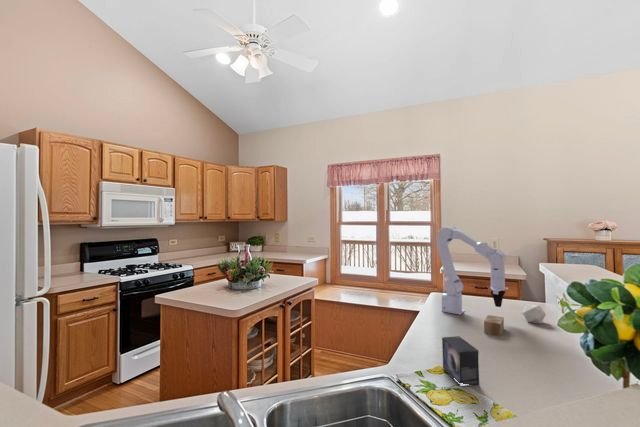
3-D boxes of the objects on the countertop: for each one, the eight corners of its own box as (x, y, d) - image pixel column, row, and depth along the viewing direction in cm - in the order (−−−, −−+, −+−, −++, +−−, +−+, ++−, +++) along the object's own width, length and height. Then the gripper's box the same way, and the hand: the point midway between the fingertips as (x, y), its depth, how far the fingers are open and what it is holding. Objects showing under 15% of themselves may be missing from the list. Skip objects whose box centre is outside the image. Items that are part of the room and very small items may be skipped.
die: (543, 321, 138) (528, 302, 143) (554, 318, 130) (538, 298, 135) (528, 328, 137) (514, 309, 142) (538, 325, 129) (523, 305, 134)
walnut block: (488, 325, 132) (484, 332, 124) (488, 314, 132) (484, 321, 124) (503, 328, 128) (500, 336, 121) (503, 317, 128) (500, 324, 121)
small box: (441, 368, 96) (440, 336, 96) (460, 367, 97) (459, 335, 97) (459, 387, 85) (458, 351, 86) (480, 385, 86) (479, 350, 86)
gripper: (505, 281, 129) (506, 312, 129) (509, 275, 140) (510, 304, 140) (487, 279, 134) (488, 309, 133) (492, 274, 145) (493, 301, 145)
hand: (498, 306), depth 137 cm, fingers closed
